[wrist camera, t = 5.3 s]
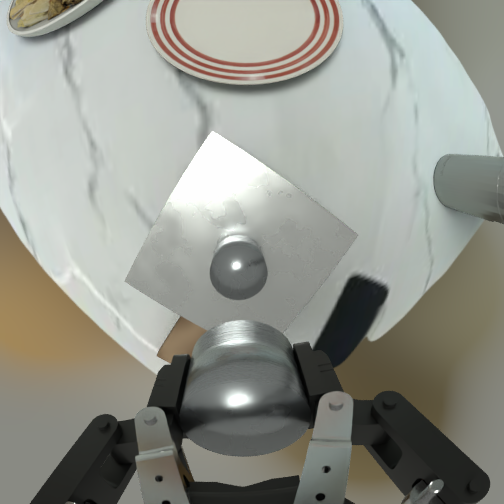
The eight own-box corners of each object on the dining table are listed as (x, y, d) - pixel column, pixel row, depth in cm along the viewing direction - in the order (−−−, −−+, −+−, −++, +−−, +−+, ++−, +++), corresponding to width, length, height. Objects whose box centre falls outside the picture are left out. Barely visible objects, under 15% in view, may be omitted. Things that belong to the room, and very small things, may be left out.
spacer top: (314, 349, 13) (337, 407, 9) (255, 407, 14) (260, 464, 10) (226, 300, 12) (222, 359, 8) (174, 371, 13) (159, 431, 9)
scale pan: (347, 228, 31) (358, 235, 28) (258, 342, 34) (260, 358, 31) (214, 135, 27) (212, 131, 24) (134, 270, 31) (124, 281, 28)
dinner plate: (185, -46, 23) (182, -56, 19) (345, -16, 26) (352, -26, 23) (127, 79, 30) (118, 73, 27) (319, 114, 33) (327, 110, 30)
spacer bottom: (273, 252, 28) (278, 265, 24) (245, 291, 29) (246, 309, 25) (230, 225, 27) (229, 234, 23) (204, 266, 28) (198, 281, 24)
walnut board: (268, 333, 42) (269, 339, 41) (225, 383, 45) (224, 389, 43) (195, 293, 39) (194, 297, 38) (158, 350, 42) (156, 355, 41)
